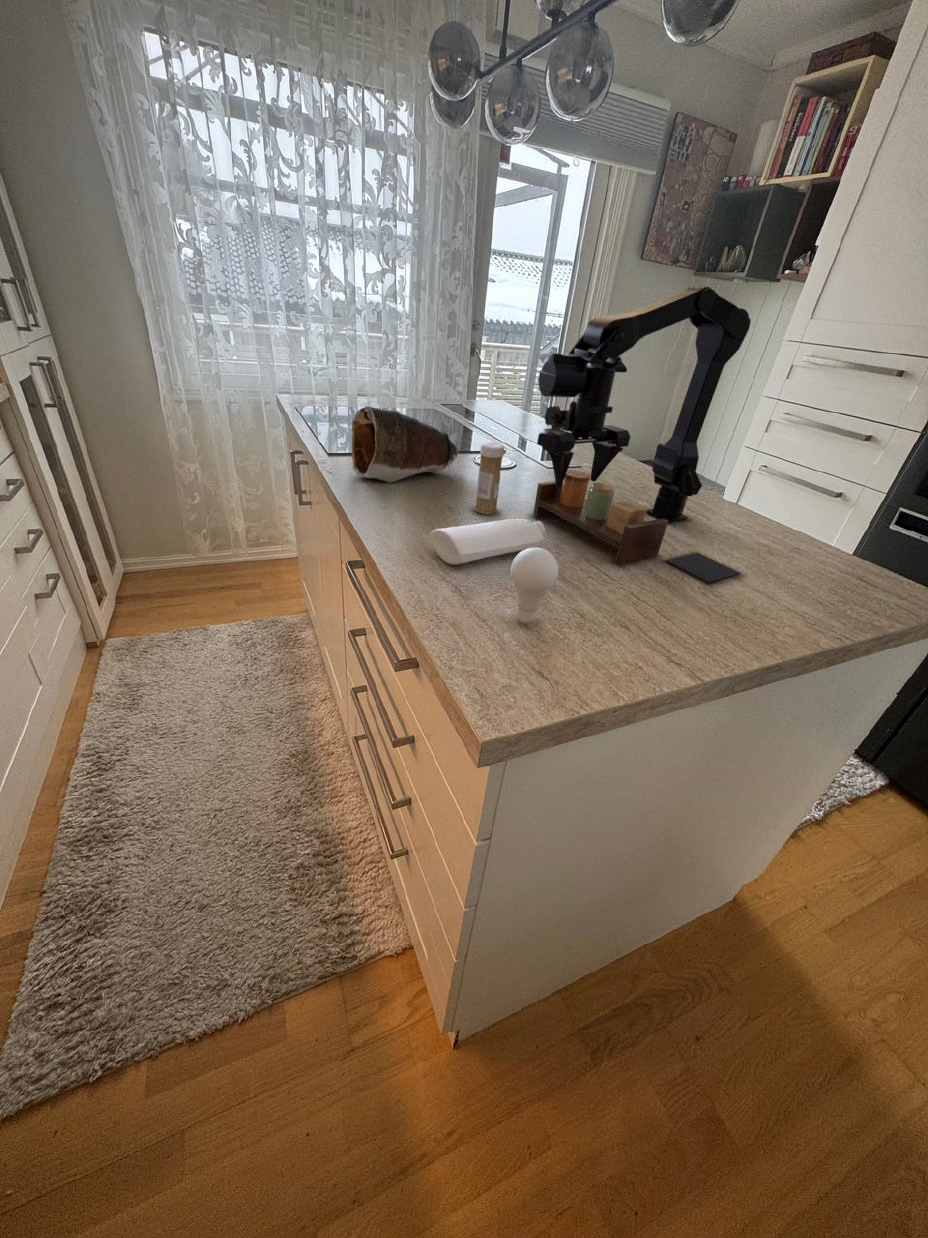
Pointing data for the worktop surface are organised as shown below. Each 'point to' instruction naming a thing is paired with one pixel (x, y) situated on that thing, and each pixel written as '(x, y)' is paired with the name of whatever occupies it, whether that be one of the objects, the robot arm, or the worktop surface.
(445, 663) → the worktop surface
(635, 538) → the walnut shelf
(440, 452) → the clay pot
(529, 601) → the lightbulb
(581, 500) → the copper tin
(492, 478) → the sprinkles bottle
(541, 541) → the squeeze bottle
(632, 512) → the oak block
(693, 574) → the black rubber mat
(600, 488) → the sage jar
